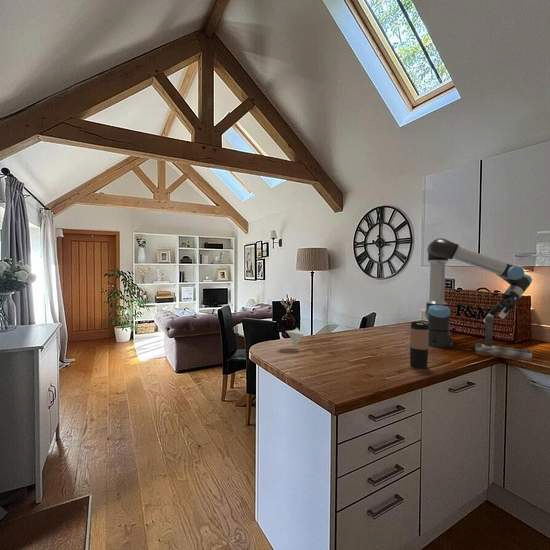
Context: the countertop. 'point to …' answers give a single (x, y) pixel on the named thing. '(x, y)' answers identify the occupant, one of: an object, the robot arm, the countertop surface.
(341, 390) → the countertop surface
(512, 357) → the rail base
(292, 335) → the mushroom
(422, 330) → the travel mug
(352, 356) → the countertop surface
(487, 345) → the slider
